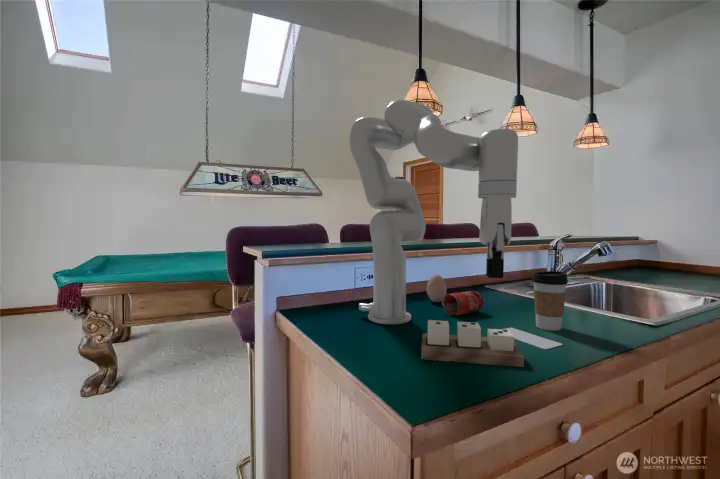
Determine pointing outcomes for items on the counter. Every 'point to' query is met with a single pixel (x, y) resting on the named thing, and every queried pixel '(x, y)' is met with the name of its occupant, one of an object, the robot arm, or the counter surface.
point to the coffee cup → (549, 298)
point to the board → (470, 353)
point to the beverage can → (462, 302)
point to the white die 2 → (468, 334)
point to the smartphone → (533, 339)
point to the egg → (436, 288)
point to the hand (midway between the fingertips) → (494, 277)
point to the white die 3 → (500, 340)
